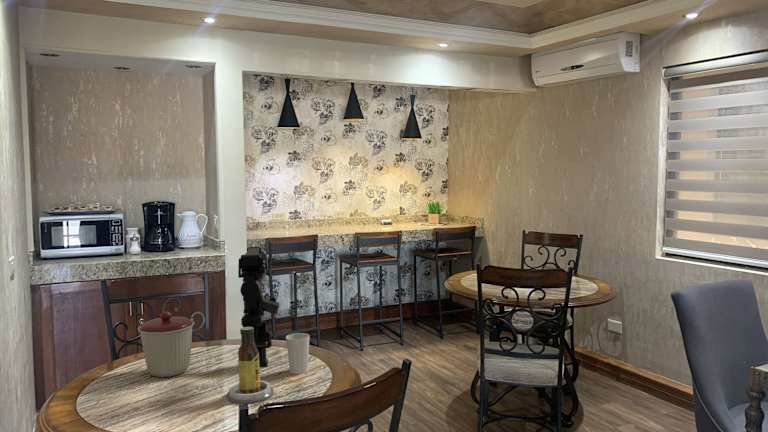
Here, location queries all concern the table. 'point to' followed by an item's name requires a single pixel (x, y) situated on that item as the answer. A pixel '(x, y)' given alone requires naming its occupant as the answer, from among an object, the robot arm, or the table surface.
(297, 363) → the cup
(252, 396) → the grey shallow dish
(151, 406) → the table surface
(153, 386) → the table surface
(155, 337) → the canister
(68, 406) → the table surface
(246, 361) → the sauce bottle
